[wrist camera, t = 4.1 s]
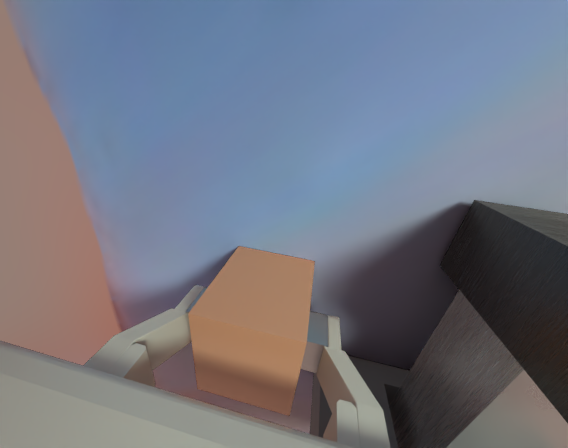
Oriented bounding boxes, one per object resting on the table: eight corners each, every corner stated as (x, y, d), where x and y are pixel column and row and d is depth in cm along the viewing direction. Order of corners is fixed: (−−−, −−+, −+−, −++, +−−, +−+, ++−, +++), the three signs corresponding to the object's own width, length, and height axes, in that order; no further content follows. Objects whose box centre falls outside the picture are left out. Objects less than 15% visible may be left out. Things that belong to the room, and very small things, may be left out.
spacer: (238, 246, 11) (188, 313, 7) (314, 261, 11) (306, 342, 7) (237, 308, 13) (197, 389, 9) (301, 323, 13) (289, 415, 9)
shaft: (474, 199, 8) (792, 357, 2) (582, 216, 7) (1253, 450, 2) (368, 401, 14) (393, 574, 9) (425, 417, 13) (489, 609, 8)
